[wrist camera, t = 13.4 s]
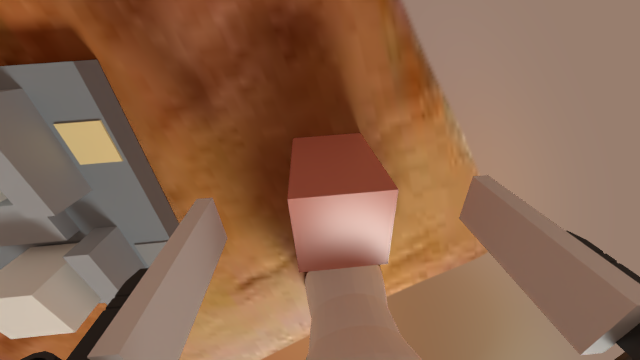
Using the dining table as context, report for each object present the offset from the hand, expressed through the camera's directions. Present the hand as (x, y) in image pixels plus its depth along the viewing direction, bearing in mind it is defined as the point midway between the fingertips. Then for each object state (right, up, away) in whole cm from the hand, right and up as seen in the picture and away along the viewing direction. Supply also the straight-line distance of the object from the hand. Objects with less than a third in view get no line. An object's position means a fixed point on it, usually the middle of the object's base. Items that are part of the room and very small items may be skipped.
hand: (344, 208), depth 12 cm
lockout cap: (-1, +3, +4) cm, 5 cm away
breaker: (-19, -5, +5) cm, 21 cm away
